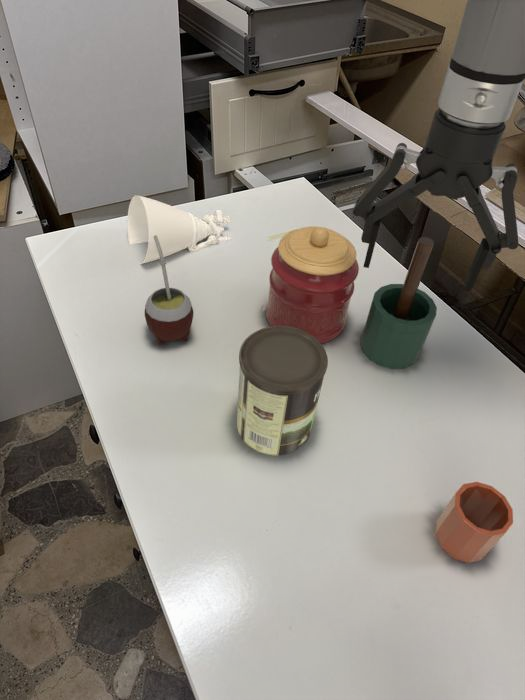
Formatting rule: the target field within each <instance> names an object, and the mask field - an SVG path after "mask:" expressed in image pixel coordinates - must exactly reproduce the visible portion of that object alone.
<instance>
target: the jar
mask: <svg viewBox="0 0 525 700" xmlns="http://www.w3.org/2000/svg"><path fill="white" fill-rule="evenodd" d="M403 284H404V283H389V284H386V285H383V286H381V287H379V288H378V289H377V290H376V291H374V294H373V297H372V301H371V303H370V306H369V307H370V308H369V311H368V315H367V318H366V321H365V324H364V328H363V332H362V336H361V338H360V343H359V344H360V347H361V351H362V353H363V354H364V355H365V356H366V358H367V359H368V360H369V361H370V362H373V363H374V364H376V365H378V366H380V367H383V368H387V369H391V370H397V369H398V370H402V369H406V368H409V367H411V366H413V365H414V364H415V363H416V362H417V361H418V360H419V357H420V355H421V353H422V350H423V348H424V345H425V343H426V340H427V339H428V335H429V334H430V332H431V328H432V326H433V324H434V321H435V319H436V316H437V309H438V308H437V307H438V306H437V305H436V302H435V301H434V299H433V298H432V297H431V296H430V295H428V293H426V292H425V291H424V290H422V289H420V288H418V289H417V292H416V294H415V297H414V300H413V303H412V305H411V308H410V311H409V314H408V316H407V318H408V319H409V320H410V321H407V320H403V319H399V318H396V317H394V316H392V315H390V314H392V313H394V311H395V308H396V305H397V302H398V299H399V296H400V293H401V290H402V287H403Z"/></svg>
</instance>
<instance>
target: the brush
mask: <svg viewBox="0 0 525 700" xmlns="http://www.w3.org/2000/svg"><path fill="white" fill-rule="evenodd" d="M434 245H435V242H434V240H433V239H432V238H431V237H430V238H429V237H427V236H426V237H425V236H422V237H419V238H418V240H417V243H416V246H415V249H414V252H413V254H412V258H411V261H410V264H409V266H408V269H407V273H406V275H405V279H404V282H403V283H402V284H403V287H402V290H401V293H400V296H399V299H398V302H397V305H396V308H395V311H394V313H392V314H390V315H392V316H394V317H396V318H399V319H403V320H407V321H410V320H409V319H408V318H407V316H408V314H409V311H410V308H411V305H412V303H413V300H414V297H415V294H416V292H417V289H419V286H420V284H421V281H422V278H423V275H424V273H425V269H426V267H427V265H428V262H429V259H430V256H431V254H432V251H433V247H434Z"/></svg>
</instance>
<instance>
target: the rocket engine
mask: <svg viewBox="0 0 525 700" xmlns="http://www.w3.org/2000/svg"><path fill="white" fill-rule="evenodd" d="M213 213H214V214H213ZM213 213H210V215H209V214H205V215H204V216H203V217H202V219H201V218H199V217H197V216H196V215H194V214H192V212H189V211H188V212H187V211H184V210H182V209H179V207H175V206H173V205H170V204H168V203H165V202H162V201H159V200H156V199H153V198H150V197H145V196H142V195H134V196H132V198H131V200H130V202H129V205H128V210H127V220H126V221H127V222H126V223H127V226H126V227H127V238H128V243H129V245H134V244H140V243H147V250H146V254H145V258H144V260H143V261H142V262H139V264H140V265H142V264H147V263H151V262H154V261H158V260H159V258H160V257H159V253H158V249H157V246H156V243H155V240H154V236H157V237H158V240H159V243H160V246H161V249H162V253H163V257H165V258H166V257H170V256H171V255H174V254H176V253H179V252H182V251H183V250H185V249H187V250H188V251H189V252H191V253H196V252H199V251H200V250H203V249H205V248H206V247H208V246H210V245H216V244H220V243H223V242H228V241H229V240H232V237H231V236H230V235H223V233H224V232H225V228H224V227H223V226H222V225H223V224H224V225H228V223H230V220H231V218H230V216H229V215H223V211H222V210H221V209H215V210H214V211H213ZM221 235H222V236H221ZM206 238H207V240H206V241H203V240H204V239H206ZM199 242H200V243H199ZM197 243H198V244H197Z"/></svg>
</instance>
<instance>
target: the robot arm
mask: <svg viewBox="0 0 525 700" xmlns="http://www.w3.org/2000/svg"><path fill="white" fill-rule="evenodd" d="M456 37H457V38H456V41H455V44H454V48H453V52H452V56H451V58H450V61H449V63H448V66H447V68H446V69H447V70H446V72H445V76H444V79H443V83H442V87H441V89H440V93H439V97H438V100H437V105H438V108H437V110H435V111H434V114H433V116H432V121H431V124H430V127H429V131H428V134H427V136H426V137H427V138H426V141H425V144H424V146H423V148H422V149H421V151H417V150H413V149H411V148H408V146H407V144H406V143H404V142H400V143H398V144H397V145H396V146H395V147H396V148H395V150H394V153H393V155H392V158H391V160H390V161H389V162H388V163H387V165H385V167H384V168H383V169H382V171H381V172H380V173H379V174H378V175H377V176H376V178H375V179H374V180H373V181H371V183H370V184H369V185H368V186H367V188H366V189H365V190H364V191H363V193H362V194H361V195H360V196H359V197H358V198H357V199H356V201H355V204H354V207H353V209H352V214H353V216H355V217H360V218H362V219H363V221H364V225H363V229H362V234H361V238H360V239H361V242H362V243H364V244H367V245H368V246H367V250H366V254H365V257H364V263H363V268H366V269H369V268H370V264H371V261H372V258H373V255H374V249H375V247H376V242H377V238H378V236H379V235H378V234H379V231H380V227H381V222H382V219H383V218H384V217H386V216H387V215H388V214H390V213H391V212H393V211H394V210H396V209H397V208H399V207H400V206H402V205H403V204H405V203H407V202H408V201H409V200H411V199H412V198H414V197H418V196H420V195H422V194H423V193H425V192H426V191H427V192H428V193H430V195H431V196H436V197H446V198H448V199H450V200H455V201H458V199H463V198H465V201H466V203H467V205H468V207H469V208H470V209H471V211H472V213H473V215H474V217H475V218H476V222H477V224H478V226H479V227H480V229H481V231H482V233H483V235H484V237H482V239H481V241H480V242H479V246H478V248H477V251H476V252H475V255H474V257H473V260H472V262H471V265H470V266H469V269H468V272H467V274H466V276H465V277H464V278H465V279H464V291H466V292H472V289H473V287H474V286H475V282H476V281H477V278H478V276H479V274H480V272H481V270H486V271H488V270H489V269H490V268H491V267H492V265H493V263H494V261H495V258H496V257H497V255H498V254H500V253H501V252H502V250H503V249H507V248H508V249H509V250H516V249H518V247H519V233H518V223H517V214H516V213H517V212H516V204H515V196H514V191H515V188H516V184H517V181H518V168H517V165H516V163H508V164H507V165H506V166H495V165H493V160H494V158H495V155H496V153H497V151H498V148H499V146H500V143H501V140H502V138H503V135H504V133H505V130H506V123H505V121H507V120H509V119H510V118H511V115H512V112H513V109H514V107H515V104H516V102H517V99H518V96H519V93H520V91H521V89H522V86H523V84H524V81H525V0H466V4H465V8H464V12H463V16H462V19H461V23H460V26H459V31H458V34H457V36H456ZM411 164H415V166H416V169H417V171H418V172H417V173H416V174H414V175H413V176H412V177H411V178H410V179H409V180H407V181H406V182H405V183H403V184H401V185H400V186H399V187H397V188H396V189H394V190H393V191H392V192H390V193H389V194H387V195H386V196H384V197H383V198H381V199H379V200H378V201H377V202H375V203H374V201H375V200H376V199H377V198H378V197H379V196H380V195H381V194H382V193H383V191H384V190H385V189H386V188H387V187H388V186H389V185H390V184H391V182H392V181H393V180H394V179H395V178H396V177H397V175H398V174H399V173H400V170H401V169H402V170H406V169H408V167H409V166H410V165H411ZM490 179H493V180H494V182H495V187H497V188H499V189H501V191H500V193H501V203H502V211H503V213H502V214H503V219H504V220H503V221H504V229H505V232H503V233H502V232H500V230H499V228H498V226H497V223H496V221H495V219H494V217H493V215H492V212H491V211H490V209H489V205H488V204H487V202H486V200H485V198H484V196H483V194H482V190H481V188H480V187H481V186H483V184H485V183H487V182H488V181H489V180H490Z"/></svg>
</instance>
